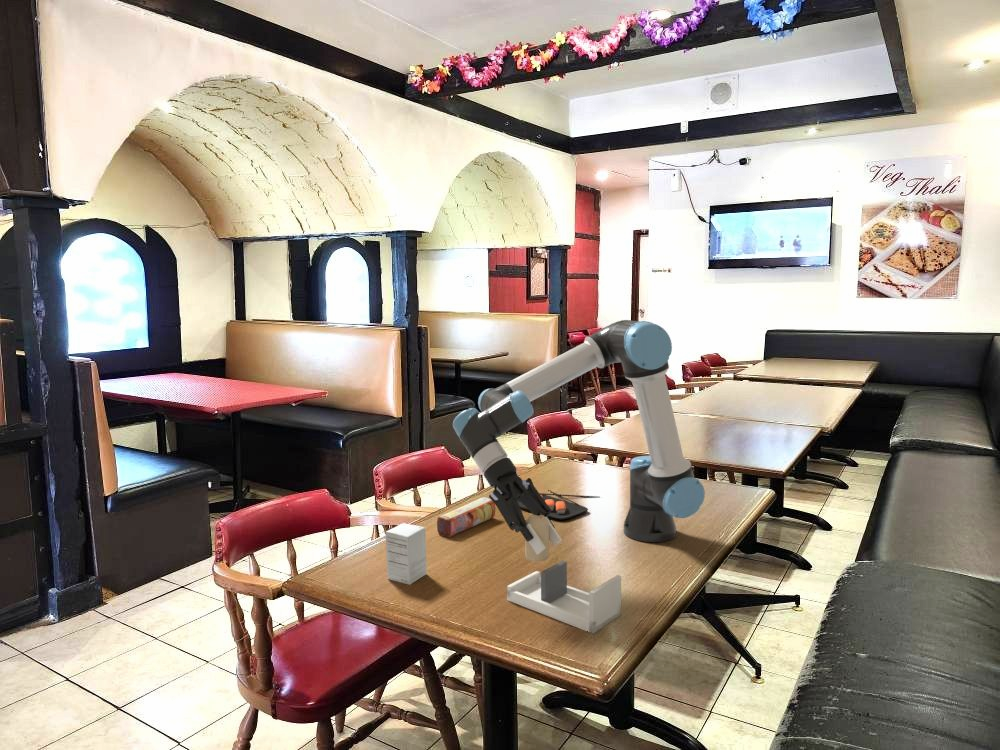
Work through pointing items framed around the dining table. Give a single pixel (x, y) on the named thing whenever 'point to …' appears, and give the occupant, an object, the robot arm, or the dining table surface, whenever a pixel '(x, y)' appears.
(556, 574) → the plate
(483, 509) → the snack package
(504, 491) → the robot arm
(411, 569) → the supplement box
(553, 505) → the sushi plate
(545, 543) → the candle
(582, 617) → the pusher lane
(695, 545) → the dining table surface
